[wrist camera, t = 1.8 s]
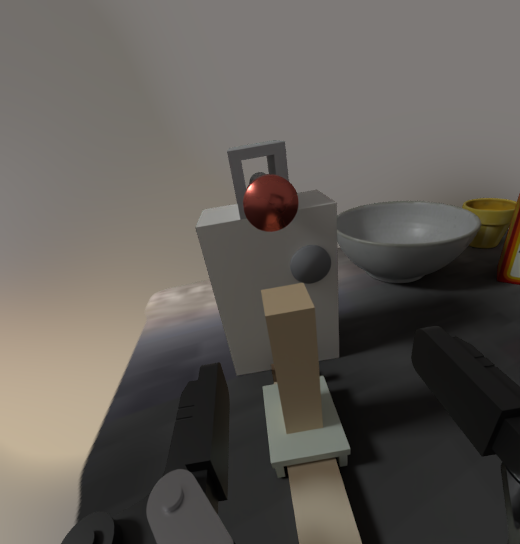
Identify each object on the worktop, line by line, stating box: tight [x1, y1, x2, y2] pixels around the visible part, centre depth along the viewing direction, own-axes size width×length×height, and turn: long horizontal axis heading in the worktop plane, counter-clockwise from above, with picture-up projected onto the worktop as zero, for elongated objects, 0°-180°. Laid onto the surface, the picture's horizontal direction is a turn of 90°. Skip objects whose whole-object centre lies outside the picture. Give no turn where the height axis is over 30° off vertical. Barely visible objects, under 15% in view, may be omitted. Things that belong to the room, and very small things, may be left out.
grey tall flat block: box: [196, 140, 339, 376], centre depth 37 cm, size 9×16×31 cm, turn 95°
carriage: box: [261, 283, 350, 478], centre depth 27 cm, size 9×8×19 cm
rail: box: [271, 364, 362, 544], centre depth 27 cm, size 25×5×4 cm, turn 5°
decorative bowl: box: [337, 201, 481, 283], centre depth 57 cm, size 27×27×12 cm
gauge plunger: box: [243, 172, 299, 232], centre depth 26 cm, size 11×4×4 cm, turn 5°
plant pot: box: [462, 198, 517, 248], centre depth 62 cm, size 10×10×10 cm
